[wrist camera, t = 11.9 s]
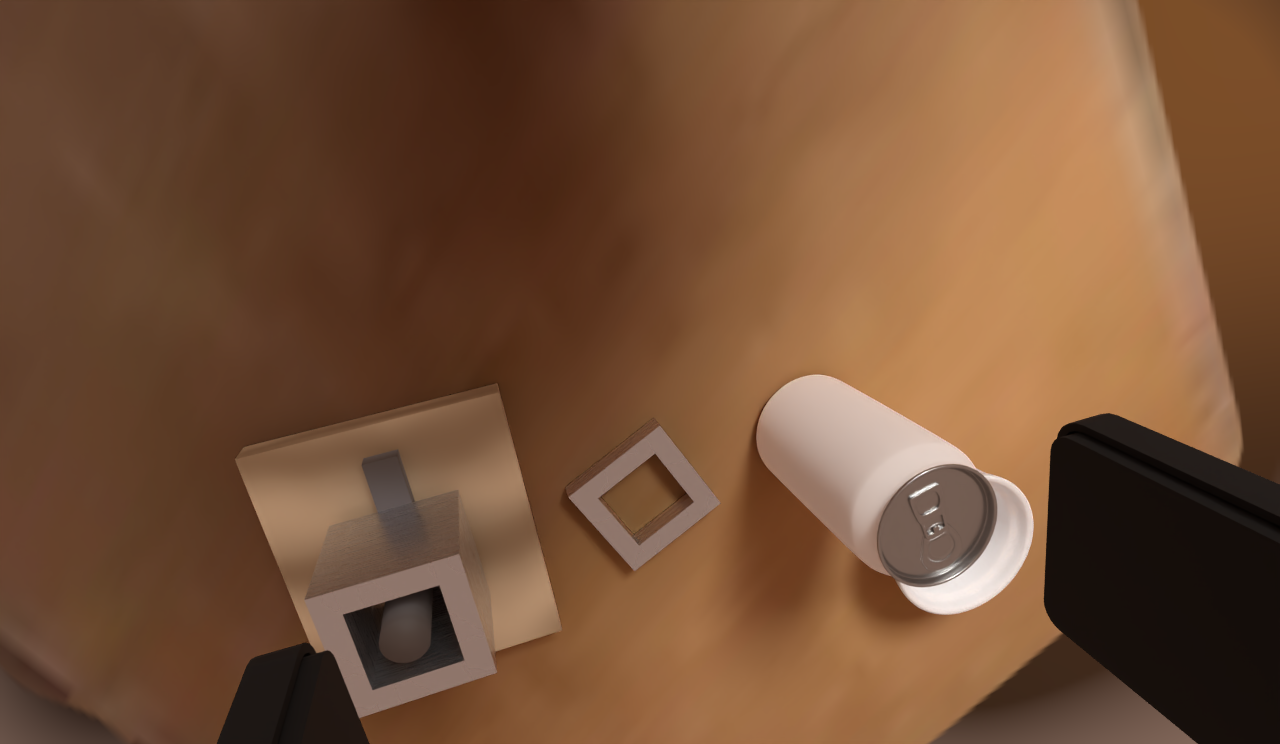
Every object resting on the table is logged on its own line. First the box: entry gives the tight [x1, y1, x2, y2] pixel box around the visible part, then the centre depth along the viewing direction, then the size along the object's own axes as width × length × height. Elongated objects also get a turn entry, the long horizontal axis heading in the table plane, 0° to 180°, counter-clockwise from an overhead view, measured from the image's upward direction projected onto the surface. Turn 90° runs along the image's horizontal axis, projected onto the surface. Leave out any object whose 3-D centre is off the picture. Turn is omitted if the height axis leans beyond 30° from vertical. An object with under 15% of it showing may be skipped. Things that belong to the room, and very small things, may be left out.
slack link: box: [565, 418, 720, 571], centre depth 39 cm, size 6×6×1 cm
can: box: [756, 375, 997, 587], centre depth 35 cm, size 6×6×12 cm
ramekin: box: [895, 468, 1033, 615], centre depth 43 cm, size 9×9×4 cm
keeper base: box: [235, 383, 562, 663], centre depth 33 cm, size 14×12×8 cm
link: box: [304, 490, 497, 718], centre depth 32 cm, size 6×6×6 cm
